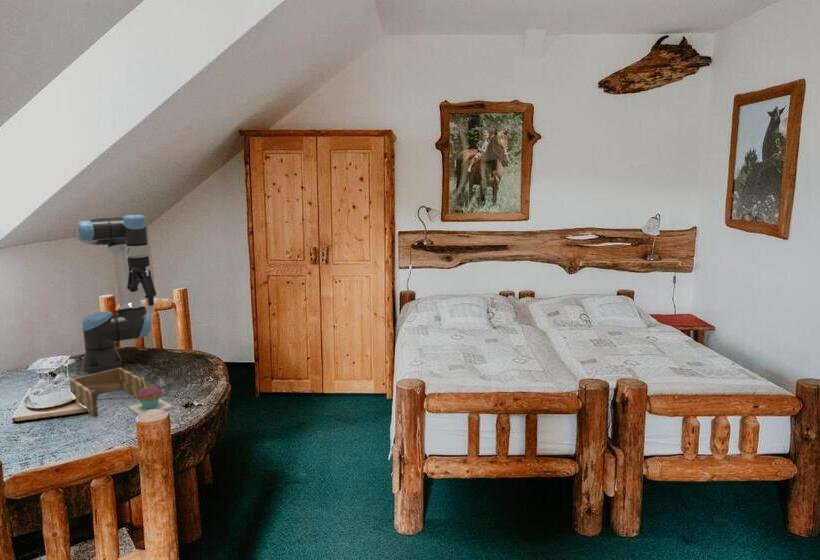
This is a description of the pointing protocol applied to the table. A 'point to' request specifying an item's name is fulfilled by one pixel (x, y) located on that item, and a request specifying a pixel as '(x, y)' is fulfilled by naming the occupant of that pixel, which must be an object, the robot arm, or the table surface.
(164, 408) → the plate
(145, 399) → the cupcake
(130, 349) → the table surface
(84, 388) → the brown open-sided frame
